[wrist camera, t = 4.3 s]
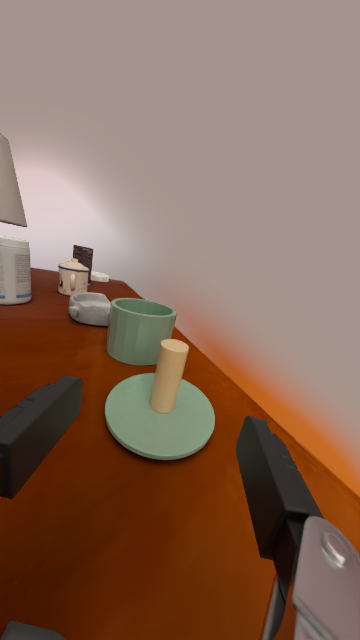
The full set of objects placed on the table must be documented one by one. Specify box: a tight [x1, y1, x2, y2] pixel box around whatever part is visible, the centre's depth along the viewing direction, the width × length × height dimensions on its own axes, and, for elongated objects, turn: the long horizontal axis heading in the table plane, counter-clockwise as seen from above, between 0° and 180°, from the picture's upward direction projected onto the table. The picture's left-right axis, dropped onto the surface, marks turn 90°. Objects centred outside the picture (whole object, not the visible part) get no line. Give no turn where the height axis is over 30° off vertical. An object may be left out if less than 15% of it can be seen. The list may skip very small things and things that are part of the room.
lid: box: [105, 339, 215, 460], centre depth 21 cm, size 12×12×9 cm
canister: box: [106, 298, 177, 366], centre depth 35 cm, size 11×11×8 cm
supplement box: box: [73, 245, 93, 286], centre depth 83 cm, size 9×5×16 cm, turn 51°
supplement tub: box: [0, 236, 31, 305], centre depth 44 cm, size 10×10×15 cm
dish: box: [68, 292, 111, 326], centre depth 47 cm, size 14×14×5 cm
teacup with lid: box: [58, 258, 89, 296], centre depth 63 cm, size 12×9×12 cm
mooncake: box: [91, 272, 109, 282], centre depth 104 cm, size 12×12×4 cm
